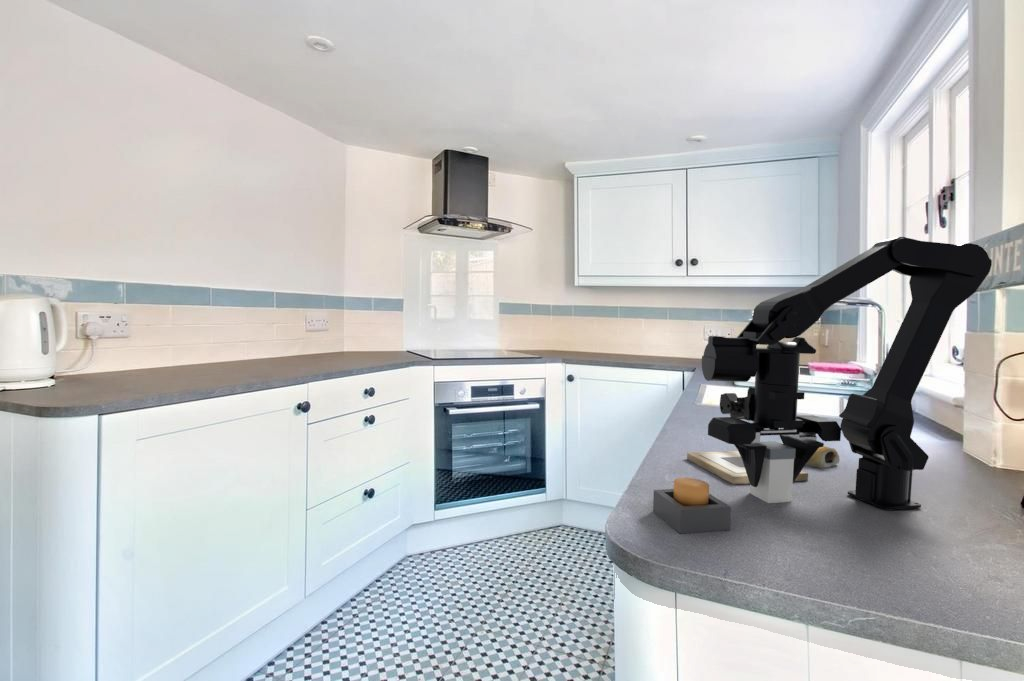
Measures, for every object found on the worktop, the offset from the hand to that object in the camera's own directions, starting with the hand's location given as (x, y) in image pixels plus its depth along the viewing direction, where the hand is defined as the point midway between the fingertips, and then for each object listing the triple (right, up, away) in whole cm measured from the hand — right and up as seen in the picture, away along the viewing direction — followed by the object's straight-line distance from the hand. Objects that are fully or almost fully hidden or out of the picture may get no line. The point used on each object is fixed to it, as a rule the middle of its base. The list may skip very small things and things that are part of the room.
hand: (771, 485), depth 74 cm
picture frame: (+2, -1, +14) cm, 14 cm away
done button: (-15, +1, -9) cm, 18 cm away
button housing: (-16, -2, -9) cm, 18 cm away
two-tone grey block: (0, -2, 0) cm, 2 cm away
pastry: (+18, -2, +20) cm, 27 cm away
